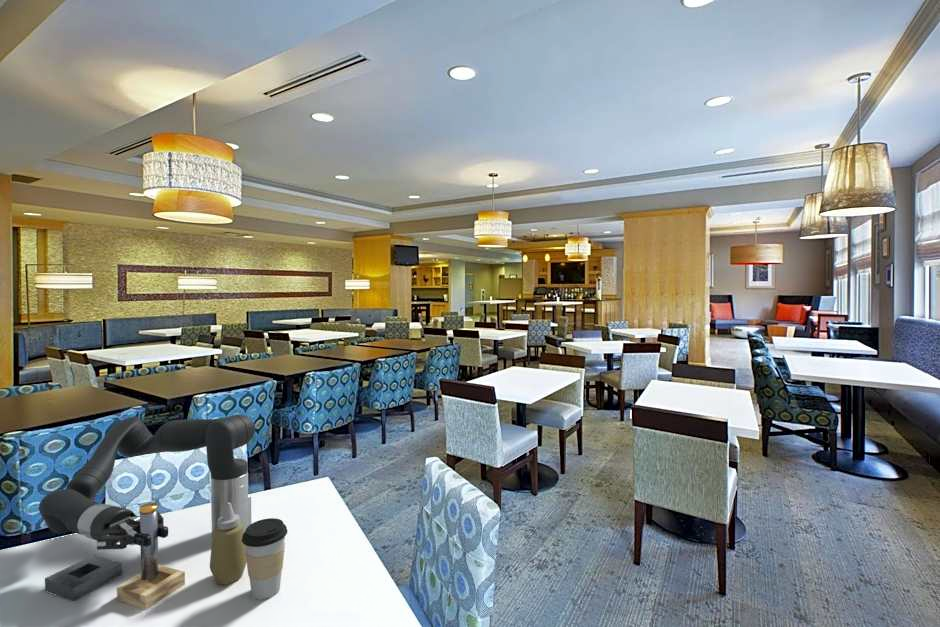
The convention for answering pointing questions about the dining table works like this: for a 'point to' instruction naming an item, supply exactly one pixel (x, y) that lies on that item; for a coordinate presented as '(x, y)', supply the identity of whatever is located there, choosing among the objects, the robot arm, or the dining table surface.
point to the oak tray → (150, 587)
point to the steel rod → (151, 528)
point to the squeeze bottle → (228, 548)
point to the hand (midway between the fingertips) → (157, 537)
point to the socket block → (83, 577)
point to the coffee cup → (265, 556)
